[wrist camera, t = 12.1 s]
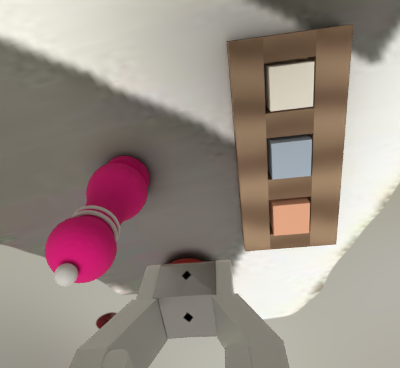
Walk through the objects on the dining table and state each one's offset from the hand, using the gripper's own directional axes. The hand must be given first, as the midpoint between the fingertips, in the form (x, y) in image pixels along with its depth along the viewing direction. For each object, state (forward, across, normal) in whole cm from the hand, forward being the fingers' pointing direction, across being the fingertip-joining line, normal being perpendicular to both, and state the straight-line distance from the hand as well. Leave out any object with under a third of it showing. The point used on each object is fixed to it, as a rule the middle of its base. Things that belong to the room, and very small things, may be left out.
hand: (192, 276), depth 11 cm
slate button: (+28, -9, +6) cm, 30 cm away
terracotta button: (+28, -9, +14) cm, 32 cm away
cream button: (+28, -9, -2) cm, 29 cm away
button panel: (+29, -9, +6) cm, 31 cm away
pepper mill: (+29, +12, +8) cm, 33 cm away
